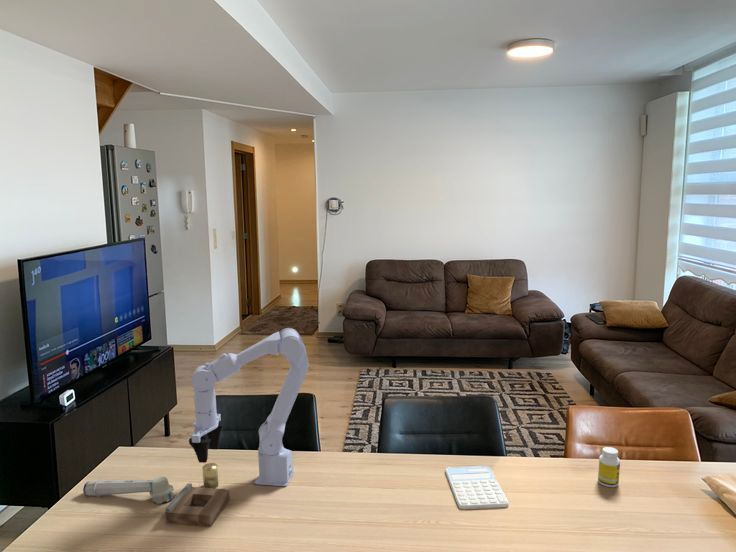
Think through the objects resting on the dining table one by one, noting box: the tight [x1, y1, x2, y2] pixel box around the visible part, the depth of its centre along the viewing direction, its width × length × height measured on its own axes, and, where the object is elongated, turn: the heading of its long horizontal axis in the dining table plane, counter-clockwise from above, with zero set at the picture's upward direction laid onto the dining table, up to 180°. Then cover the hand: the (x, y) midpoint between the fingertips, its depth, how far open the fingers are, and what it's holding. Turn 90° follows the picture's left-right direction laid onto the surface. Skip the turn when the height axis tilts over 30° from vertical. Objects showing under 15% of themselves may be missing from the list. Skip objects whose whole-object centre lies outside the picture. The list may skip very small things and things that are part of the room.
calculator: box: [445, 465, 510, 510], centre depth 153 cm, size 13×20×2 cm, turn 3°
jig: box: [164, 482, 231, 527], centre depth 144 cm, size 12×12×4 cm
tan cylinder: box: [201, 462, 219, 489], centre depth 156 cm, size 4×4×6 cm
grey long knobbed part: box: [82, 476, 175, 505], centre depth 151 cm, size 5×7×25 cm
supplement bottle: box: [597, 446, 621, 488], centre depth 154 cm, size 5×5×10 cm
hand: (208, 455), depth 154 cm, fingers open, 7 cm apart
